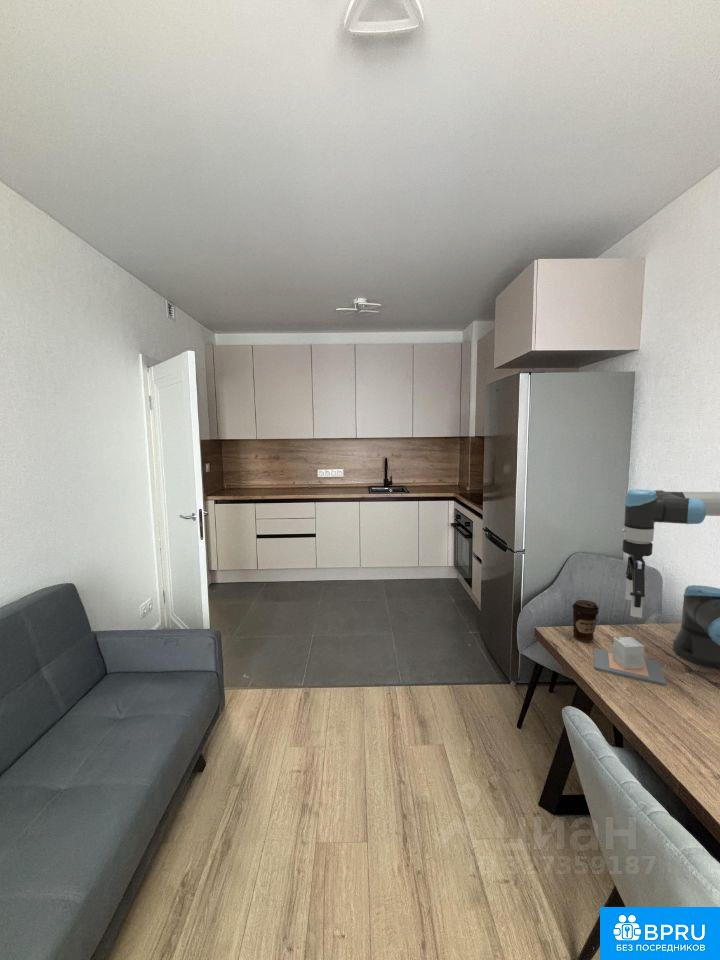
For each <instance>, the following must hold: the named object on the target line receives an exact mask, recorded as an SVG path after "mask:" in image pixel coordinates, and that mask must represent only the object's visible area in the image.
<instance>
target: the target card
mask: <svg viewBox="0 0 720 960" xmlns="http://www.w3.org/2000/svg"><path fill="white" fill-rule="evenodd" d="M593 660H594V670H595V671H598V672H603V673H606V674H607V673H608V674H613V675H616V676H619V677H620V676H621V677H624V678H630V679H634V680H637V681H642V682H647V683H651V684H654V685H657V686H658V685H659V686H662V687H663V686H664V687H667V682H666V678H665V676H664V672H663V669H662V666H661V663H660V662H659V660H658V661H657V660H652V659H647V658H644V663H643V669H624V668H623V667H622V666H620V665H619V664H618V663H617V662H616V661H614V660H613V651H610V650H605V649H600V648H596V647H594V648H593Z"/></svg>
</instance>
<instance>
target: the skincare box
mask: <svg viewBox="0 0 720 960" xmlns="http://www.w3.org/2000/svg"><path fill="white" fill-rule="evenodd" d="M612 648H613V649H612V652H613V660H614V661H616V662H617V663H618V664H619V665H620V666H622V667H623V668H624V669H643V663H644V659H645V645H643V644H642V643H640V642H639V641H637V639H635V638H634V637H633V636H617V637H613V646H612Z"/></svg>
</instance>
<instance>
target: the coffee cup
mask: <svg viewBox="0 0 720 960" xmlns="http://www.w3.org/2000/svg"><path fill="white" fill-rule="evenodd" d="M599 610H600V608H599V607H598V605H597V603H595V602H594V601H591V600H587V599H580V600H579V599H578V600H576V601H575V602H574V603H573V604H572V621H573V622H572V623H573V625H572V628H573V629H572V630H573V631H572V632H573V638H574V639H575V640H578V641H580V642H584V643H591V642H593V641H594V633H595V631H596V625H597V615H598V614H599Z"/></svg>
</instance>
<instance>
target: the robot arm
mask: <svg viewBox="0 0 720 960" xmlns="http://www.w3.org/2000/svg"><path fill="white" fill-rule="evenodd" d="M707 516H709V517H711V516H712V517H713V516H714V517H718V516H719V517H720V491H665V490H662V489H661V490H660V489H655V490H652V489H640V488H638V489H637V488H636V489H635V488H634V489H629V490H628V491H627V492H626V497H625V503H624V524H623V527H624V528H622V529H621V532H623V538H624V539H623V540H622V552H623V553H624V554H627V555H628V557H627V564H626V572H625V575H626V583H625V596H624V597H625V600H628V601H631V604H630V617H634V618H640V619H643V617H642V616H643V605H644V598H645V597H646V593H645V588H646V587H645V586H646V585H645V584H646V583H645V582H646V580H645V574H646V573H645V570H646V561H645V559H644V558H643V557H649V556H651V555H652V554H653V548H654V547H653V541H654V534H655V523H660V524H661V523H666V524H679V525H680V524H682V525H683V524H685V525H699V524H701V523H703V522H704V521H705V519H706V517H707ZM682 604H683V605H682V612H681V615H682V616H681V624H680V625H681V626H680V629H679V630H678V632H677V634H676V636H675V638H674V639H673V641H672V647H671V649H672V651H673V652H674V654H675V655H677V656H679V657H681V658H682V659H684V660H686V661H687V662H690V663H693V664H695V665H699V666H703V667H707V668H712V669H713V668H714V669H720V587H719V588H718V587H715V586H714V587H713V586H707V585H698V584H697V585H696V584H695V585H694V584H693V585H688V586H686V587H685V589H684V593H683V603H682Z"/></svg>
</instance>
